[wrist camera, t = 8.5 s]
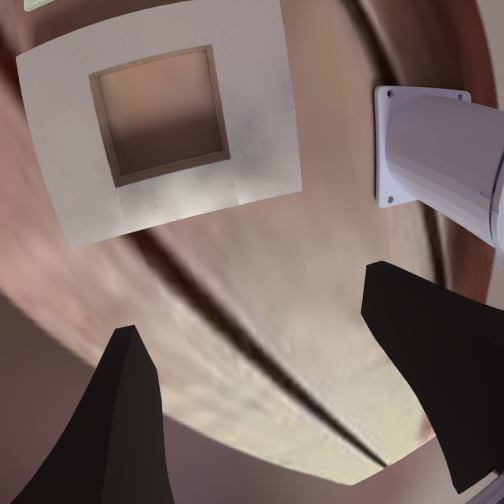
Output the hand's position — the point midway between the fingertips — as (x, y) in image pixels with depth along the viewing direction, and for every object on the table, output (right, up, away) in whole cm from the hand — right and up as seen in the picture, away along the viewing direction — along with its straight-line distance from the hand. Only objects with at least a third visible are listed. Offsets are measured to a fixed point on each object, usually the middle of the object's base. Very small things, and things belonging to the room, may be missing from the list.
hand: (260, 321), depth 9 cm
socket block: (-5, +9, +5) cm, 11 cm away
